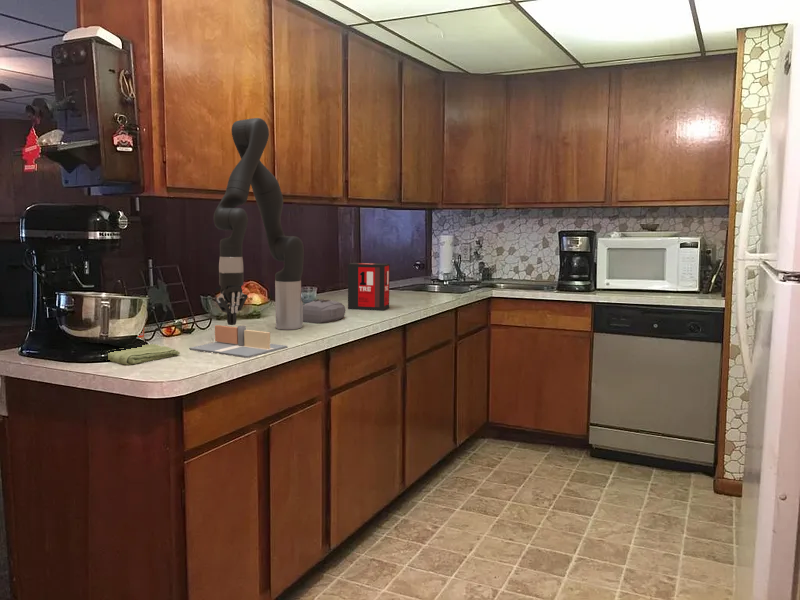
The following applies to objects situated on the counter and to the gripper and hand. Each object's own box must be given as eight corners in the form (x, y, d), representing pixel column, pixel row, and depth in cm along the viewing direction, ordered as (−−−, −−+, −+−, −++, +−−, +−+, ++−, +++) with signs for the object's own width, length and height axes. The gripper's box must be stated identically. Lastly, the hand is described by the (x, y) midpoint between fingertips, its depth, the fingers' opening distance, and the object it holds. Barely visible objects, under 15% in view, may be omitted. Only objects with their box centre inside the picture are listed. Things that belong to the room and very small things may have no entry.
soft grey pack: (324, 325, 247) (353, 318, 264) (324, 303, 246) (353, 297, 263) (292, 321, 254) (322, 315, 272) (292, 300, 253) (322, 295, 270)
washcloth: (182, 356, 189) (182, 345, 189) (127, 368, 175) (127, 356, 174) (153, 351, 197) (153, 340, 196) (99, 361, 182) (98, 350, 182)
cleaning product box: (389, 308, 294) (389, 263, 292) (384, 310, 285) (384, 265, 283) (354, 306, 298) (354, 262, 295) (347, 309, 289) (348, 264, 287)
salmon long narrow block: (239, 343, 203) (239, 327, 202) (237, 344, 202) (236, 328, 201) (217, 340, 207) (217, 325, 207) (215, 341, 206) (214, 325, 206)
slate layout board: (230, 340, 213) (230, 320, 212) (287, 347, 203) (287, 326, 202) (189, 349, 198) (188, 328, 197) (248, 357, 187) (247, 335, 186)
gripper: (236, 269, 216) (237, 321, 218) (207, 271, 205) (208, 326, 207) (254, 270, 213) (254, 323, 215) (225, 272, 201) (225, 328, 203)
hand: (231, 324), depth 211 cm, fingers closed
